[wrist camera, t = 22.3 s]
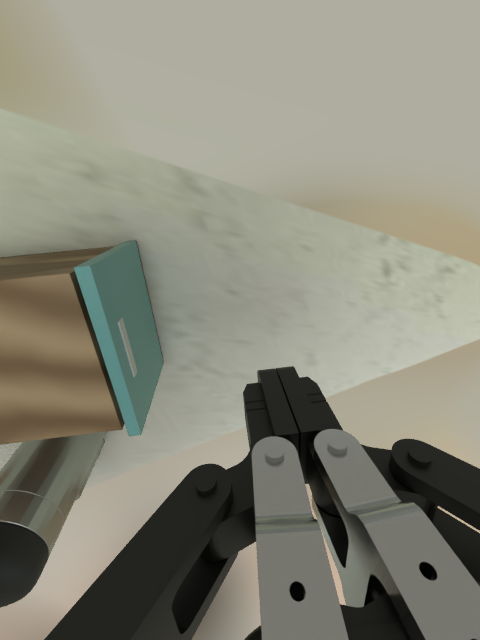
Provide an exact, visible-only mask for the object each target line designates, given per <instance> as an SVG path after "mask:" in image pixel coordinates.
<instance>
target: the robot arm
mask: <svg viewBox="0 0 480 640" xmlns="http://www.w3.org/2000/svg"><path fill="white" fill-rule="evenodd" d="M257 374H258V383H252V384H247V385H246V387H245V390H244V392H243V397H244V408H245V419H246V427H247V433H248V440H249V447H250V452H249V453H248V455H247V457H246V458H245V459H244V460H243V461H242V462H240V463H239V464H237V465H235V466H233V467H231V468H229V469H227V470H225V469H224V468H223V467H221V466H219V465H216V464H205V465H201V466H198V467H197V468H195V469H193V470H192V471H191V472H190V473H189V474H188V475H187V476H186V477H185V478H184V479H183V481H182V482H181V483H180V484H179V485H178V486H177V487H176V489H175V490H174V491H173V492H172V493H171V494H170V495H169V497H168V498H167V499H166V500H165V501H164V502H163V503H162V505H161V506H160V507H159V508H158V509H157V510H156V512H155V513H154V514H153V515H152V516H151V517H150V518H149V520H148V521H147V522H146V523H145V524H144V525H143V527H142V528H141V529H140V530H139V531H138V533H136V535H135V536H134V537H133V538H132V539H131V540H130V541H129V543H128V544H127V545H126V546H125V547H124V549H123V550H122V551H121V552H120V553H119V554H118V555H117V556H116V558H115V559H114V560H113V561H112V562H111V563H110V565H109V566H108V567H107V568H106V569H105V570H104V572H103V573H102V574H101V575H100V576H99V577H98V578H97V580H96V581H95V582H94V583H93V584H92V585H91V587H90V588H89V589H88V590H87V591H86V592H85V593H84V595H83V596H82V597H81V598H80V599H79V600H78V601H77V603H76V604H75V605H74V606H73V607H72V608H71V609H70V611H69V612H68V613H67V614H66V615H65V616H64V618H63V619H62V620H61V621H60V622H59V623H58V625H57V626H56V627H55V628H54V629H53V630H52V631H51V632H50V634H49V635H48V636H47V637H46V638H45V639H44V640H191V639H192V637H193V636H194V634H195V632H196V630H197V628H198V626H199V625H200V623H201V621H202V619H203V617H204V616H205V614H206V612H207V610H208V608H209V606H210V604H211V603H212V601H213V599H214V597H215V595H216V594H217V592H218V590H219V588H220V586H221V585H222V583H223V581H224V579H225V577H226V575H227V574H228V572H229V570H230V568H231V566H232V564H233V563H234V561H235V559H236V557H237V555H238V552H239V551H240V550H242V549H244V548H245V547H247V546H249V545H251V544H252V543H254V542H256V545H257V563H258V579H259V596H260V614H261V626H259V627H258V628H256V629H255V630H254V631H253V632H252V633H250V634H249V635H248V636H247V637H246V638H245V640H480V533H478V532H477V531H475V530H473V529H472V528H470V527H468V526H467V525H465V524H463V523H462V522H460V521H458V520H457V519H455V518H453V517H452V516H450V515H448V514H447V513H445V512H443V511H442V510H440V509H438V508H437V507H438V506H440V507H441V508H443V509H445V510H446V511H448V512H450V513H451V514H453V515H455V516H456V517H458V518H460V519H461V520H463V521H465V522H466V523H468V524H470V525H471V526H473V527H475V528H476V529H478V530H480V469H479V468H477V467H475V466H472V465H470V464H468V463H466V462H464V461H462V460H460V459H458V458H456V457H454V456H452V455H450V454H447V453H446V452H443V451H441V450H439V449H437V448H435V447H433V446H431V445H429V444H427V443H424V442H422V441H418V440H414V439H402V440H399V441H397V442H395V443H394V445H393V446H392V450H386V449H379V448H372V447H367V446H364V445H361V444H360V443H359V442H358V440H357V439H356V438H355V437H354V436H352V435H351V434H349V433H347V432H345V431H343V429H342V428H341V426H340V424H339V422H338V420H337V419H336V417H335V415H334V414H333V411H332V410H331V408H330V406H329V404H328V403H327V402H326V399H325V397H324V395H322V392H321V390H320V388H319V386H318V385H317V383H315V382H314V381H313V380H311V379H310V378H309V377H302V378H299V376H298V374H297V372H296V370H295V368H294V367H293V366H292V367H283V368H276V369H266V370H258V372H257ZM106 432H107V431H106ZM106 432H98V433H90V434H82V435H74V436H65V437H57V438H49V439H41V440H33V441H25V442H22V444H21V445H20V446H19V448H18V449H17V450H16V451H15V453H14V454H13V455H12V456H11V458H10V459H9V460H8V462H7V463H6V464H5V465H4V467H3V468H2V469H1V471H0V607H3V606H7V605H9V604H12V603H14V602H16V601H18V600H20V599H22V598H23V597H25V596H26V595H27V594H28V593H29V592H30V591H31V590H32V588H33V587H34V586H35V584H36V583H37V581H38V579H39V577H40V575H41V573H42V571H43V568H44V566H45V564H46V562H47V560H48V558H49V555H50V553H51V551H52V549H53V547H54V545H55V542H56V540H57V538H58V536H59V534H60V531H61V529H62V527H63V525H64V522H65V520H66V518H67V516H68V514H69V512H70V510H71V507H72V505H73V503H74V501H75V500H77V499H78V498H79V497H80V496H81V494H82V491H83V489H84V487H85V485H86V482H87V480H88V478H89V476H90V474H91V471H92V469H93V467H94V465H95V462H96V460H97V458H98V456H99V454H100V451H101V449H102V447H103V445H104V440H103V439H104V436H105V434H106ZM308 483H309V486H310V489H311V491H312V507H313V510H314V512H315V515H316V517H317V520H318V521H317V520H316V519H314V518H313V515H312V511H311V507H310V503H309V498H308V494H307V491H306V486H305V484H308ZM318 522H319V523H318ZM319 525H320V526H319ZM320 527H321V529H320ZM321 530H322V532H323V535H324V537H325V540H326V542H327V545H328V547H329V550H330V552H331V555H332V557H333V560H334V562H335V565H336V567H337V570H338V573H339V575H340V579H341V583H342V588H343V594H344V598H345V602H346V605H340V604H339V599H338V596H337V592H336V588H335V584H334V580H333V576H332V572H331V568H330V564H329V560H328V556H327V552H326V548H325V544H324V540H323V537H322V533H321Z"/></svg>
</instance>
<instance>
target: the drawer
mask: <svg viewBox="0 0 480 640" xmlns="http://www.w3.org/2000/svg"><path fill="white" fill-rule="evenodd" d="M74 270H75V273H76V276H77V279H78V282H79V285H80V288H81V291H82V294H83V297H84V300H85V303H86V307H87V310H88V313H89V316H90V319H91V322H92V325H93V328H94V331H95V334H96V337H97V340H98V343H99V346H100V349H101V352H102V355H103V358H104V362H105V365H106V368H107V371H108V374H109V377H110V380H111V383H112V386H113V389H114V392H115V395H116V398H117V401H118V404H119V407H120V410H121V413H122V417H123V420H124V423H125V426H126V429H127V432H128V435H129V436H135V435H141V433H142V430H143V427H144V424H145V421H146V417H147V414H148V411H149V408H150V405H151V401H152V398H153V395H154V392H155V388H156V385H157V382H158V379H159V376H160V372H161V369H162V366H163V363H164V362H163V358H162V353H161V349H160V345H159V340H158V336H157V331H156V327H155V323H154V318H153V314H152V310H151V305H150V301H149V296H148V292H147V288H146V283H145V279H144V274H143V270H142V266H141V261H140V257H139V253H138V248H137V244H136V241H127V242H124V243H122V244H120V245H118V246H116V247H114V248H112V249H110V250H108V251H106V252H104V253H102V254H100V255H98V256H96V257H94V258H92V259H90V260H88V261H86V262H84V263H82V264H80V265H78V266H76V267H74Z"/></svg>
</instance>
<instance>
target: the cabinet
mask: <svg viewBox="0 0 480 640" xmlns="http://www.w3.org/2000/svg"><path fill="white" fill-rule="evenodd" d="M114 247H116V246H114ZM114 247H104V248H94V249H84V250H73V251H63V252H53V253H43V254H33V255H22V256H12V257H2V258H0V445H1V444H9V443H17V442H25V441H33V440H41V439H49V438H57V437H65V436H74V435H82V434H90V433H98V432H106V431H114V430H122V428H123V426H124V420H123V417H122V413H121V410H120V407H119V404H118V401H117V398H116V395H115V392H114V389H113V386H112V383H111V380H110V377H109V374H108V371H107V368H106V365H105V362H104V358H103V355H102V352H101V349H100V346H99V343H98V340H97V337H96V334H95V331H94V328H93V325H92V322H91V319H90V316H89V313H88V310H87V307H86V303H85V300H84V297H83V294H82V291H81V288H80V285H79V282H78V279H77V276H76V273H75V270H74V267H76V266H78V265H80V264H82V263H84V262H86V261H88V260H90V259H92V258H94V257H96V256H98V255H100V254H102V253H104V252H106V251H108V250H110V249H112V248H114Z"/></svg>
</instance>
